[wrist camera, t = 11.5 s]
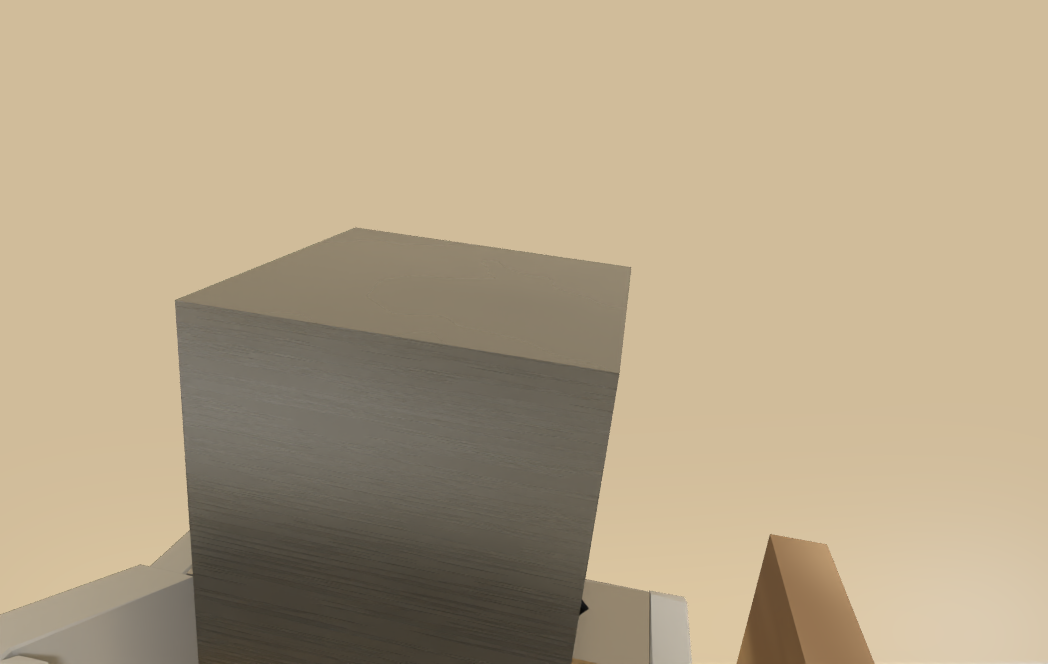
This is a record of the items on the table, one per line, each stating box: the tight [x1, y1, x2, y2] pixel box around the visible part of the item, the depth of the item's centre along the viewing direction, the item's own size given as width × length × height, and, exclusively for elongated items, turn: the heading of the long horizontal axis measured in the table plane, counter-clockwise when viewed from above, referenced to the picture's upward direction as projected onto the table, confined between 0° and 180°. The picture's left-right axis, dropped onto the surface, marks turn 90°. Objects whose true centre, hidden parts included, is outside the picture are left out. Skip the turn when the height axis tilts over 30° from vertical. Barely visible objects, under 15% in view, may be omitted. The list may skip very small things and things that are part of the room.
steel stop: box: [175, 228, 631, 664], centre depth 10 cm, size 4×4×11 cm
